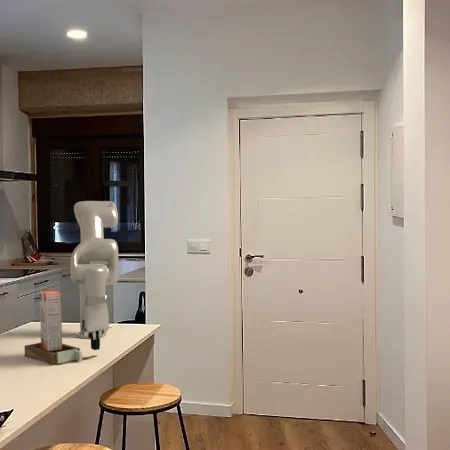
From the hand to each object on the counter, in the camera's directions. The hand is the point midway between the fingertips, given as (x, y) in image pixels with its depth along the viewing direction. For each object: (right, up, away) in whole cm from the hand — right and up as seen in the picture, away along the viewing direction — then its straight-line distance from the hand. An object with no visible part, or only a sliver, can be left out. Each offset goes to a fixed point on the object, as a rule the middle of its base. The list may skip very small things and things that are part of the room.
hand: (95, 349), depth 213 cm
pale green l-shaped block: (-8, -3, -7) cm, 11 cm away
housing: (-14, -3, +3) cm, 14 cm away
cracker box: (-17, 0, +1) cm, 17 cm away
